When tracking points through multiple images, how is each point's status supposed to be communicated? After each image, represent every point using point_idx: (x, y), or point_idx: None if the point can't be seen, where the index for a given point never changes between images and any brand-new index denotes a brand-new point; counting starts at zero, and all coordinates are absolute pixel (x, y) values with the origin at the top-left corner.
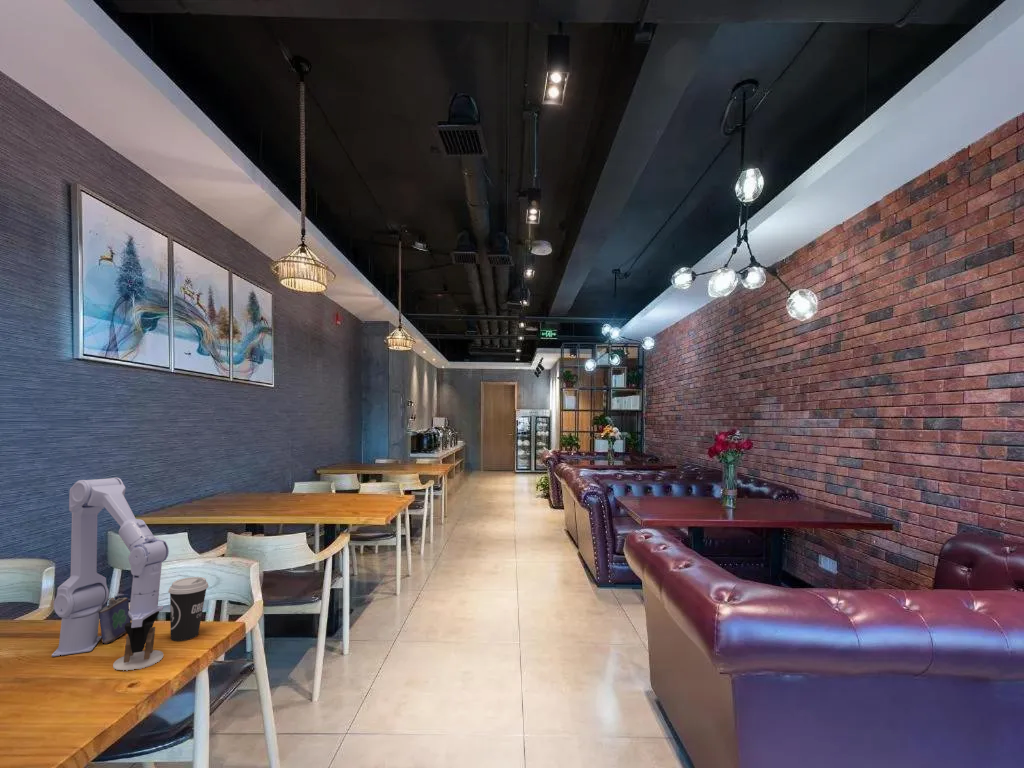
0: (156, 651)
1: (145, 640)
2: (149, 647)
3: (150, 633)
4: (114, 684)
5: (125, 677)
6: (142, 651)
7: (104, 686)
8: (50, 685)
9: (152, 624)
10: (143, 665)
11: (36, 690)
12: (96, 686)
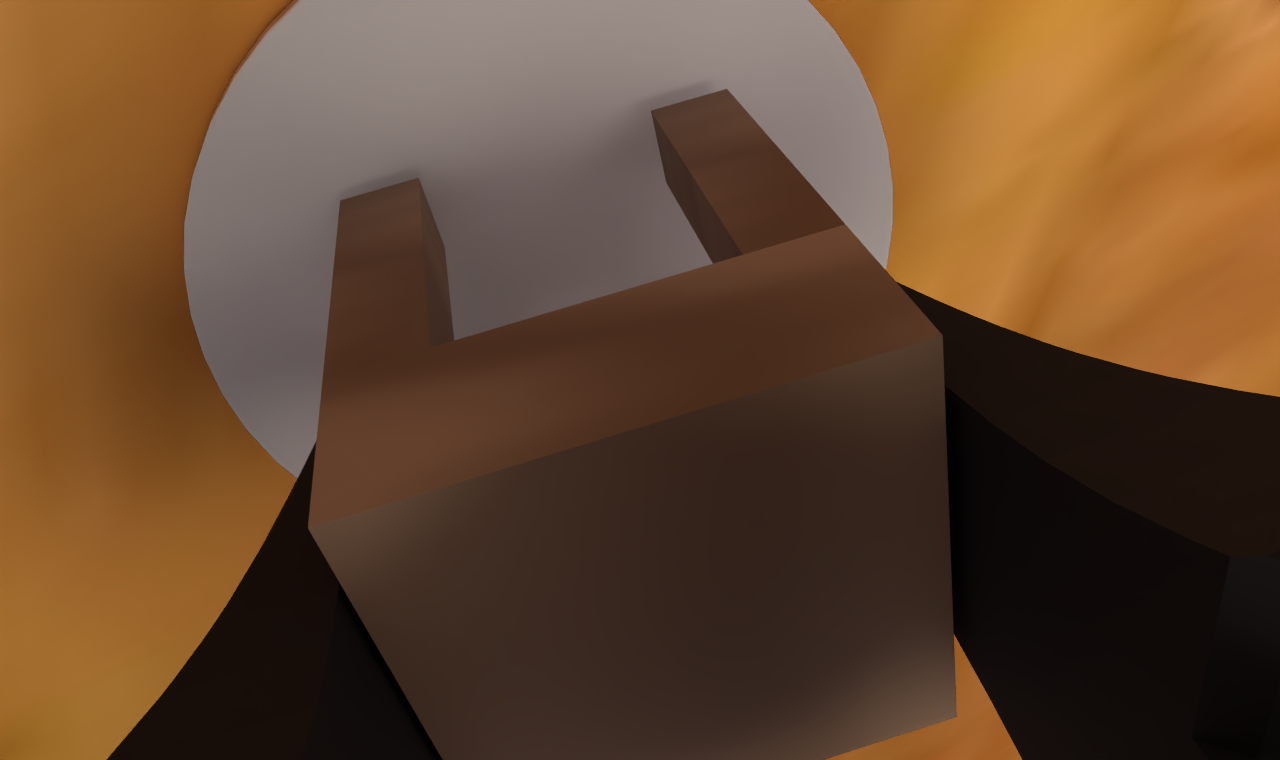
0: (255, 156)
1: (982, 322)
2: (803, 179)
3: (928, 362)
4: (1214, 193)
5: (1064, 165)
6: (258, 392)
7: (1210, 276)
8: (949, 719)
9: (340, 654)
10: (849, 82)
11: (1005, 743)
12: (1164, 358)
